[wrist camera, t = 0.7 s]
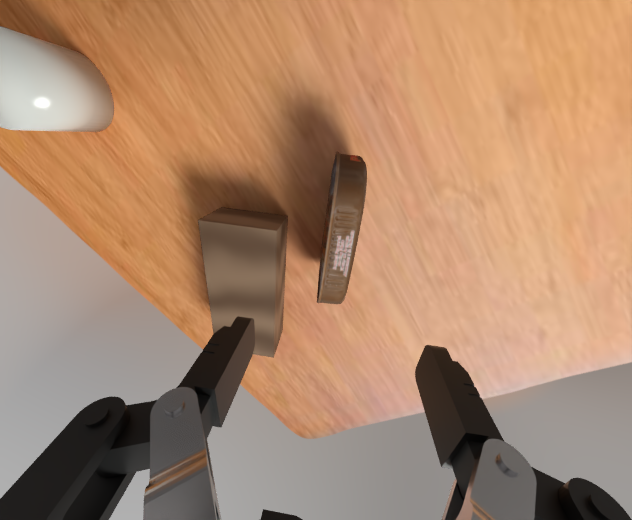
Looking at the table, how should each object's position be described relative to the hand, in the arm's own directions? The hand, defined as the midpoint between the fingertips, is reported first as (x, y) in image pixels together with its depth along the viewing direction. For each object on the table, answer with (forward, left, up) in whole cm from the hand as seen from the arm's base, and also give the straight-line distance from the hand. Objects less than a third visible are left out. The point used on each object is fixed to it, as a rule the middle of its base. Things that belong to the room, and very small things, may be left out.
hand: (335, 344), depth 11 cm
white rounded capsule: (-10, -28, -18) cm, 35 cm away
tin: (0, 0, -18) cm, 19 cm away
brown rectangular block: (+9, -10, -18) cm, 23 cm away
